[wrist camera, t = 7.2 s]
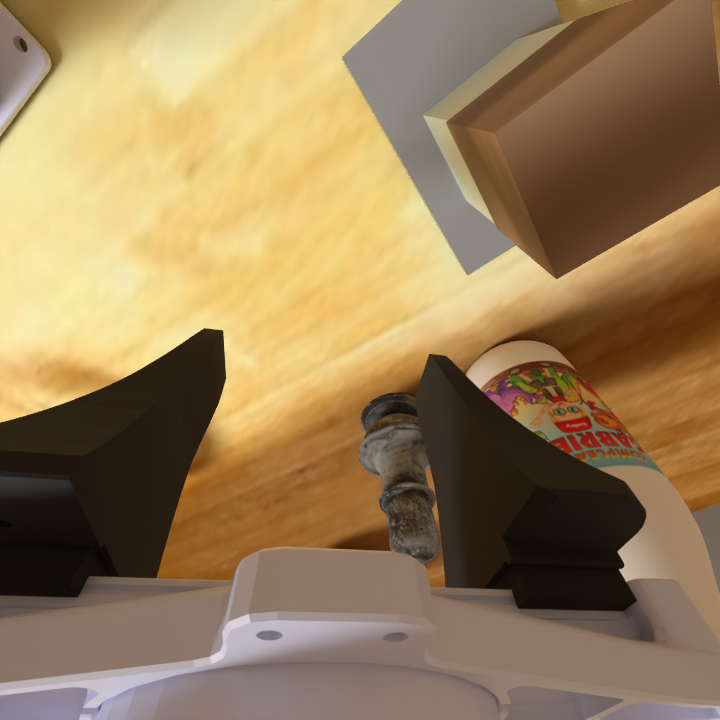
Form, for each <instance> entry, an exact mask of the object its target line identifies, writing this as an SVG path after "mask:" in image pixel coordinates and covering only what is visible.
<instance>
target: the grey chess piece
mask: <svg viewBox="0 0 720 720" xmlns="http://www.w3.org/2000/svg"><path fill="white" fill-rule="evenodd" d="M361 425H362V427H363V429H364V431H365V432H366V434H365V437H364V440H363V442H362V444H361V446H360V449H359V460H360V462H361V464H362V466H363V467H364V468H365V469H366V470H367V471H368V472H369V473H371V474H373V475H375V476H377V477H380V478H381V479H382V487H383V494H382V495H381V496H380V499H379V505H380V508H381V509H382V511H384V512H385V513H386V514H387V524H388V533H389V542H390V549H391V551H392V552H397V553H402V554H407V555H411V556H412V557H413V558H415V559H416V560H417V561H419V562H420V563H421V564H423V565H425V564H427V563H429V562H430V561H431V560H433V559H434V558H435V557H436V555H437V553H438V551H439V538H438V534H437V529H436V525H435V520H434V515H433V511H432V507H433V506H434V504H435V502H436V496H435V494H434V492H433V491H432V490H431V488H429V487H428V482H427V478H426V473H425V472H426V471H427V470H428V469H430V465H429V461H428V457H427V453H426V450H425V446H424V442H423V438H422V434H421V430H420V427H419V422H418V416H417V408H416V398H415V397H413V396H411V395H408V394H401V393H393V394H386V395H383V396H380V397H378V398H376V399H374V400H372V401H371V402H370V403H369V404H368V405H367V406H366V407H365V409H364V410H363V412H362V416H361Z"/></svg>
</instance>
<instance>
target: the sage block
mask: <svg viewBox="0 0 720 720" xmlns="http://www.w3.org/2000/svg"><path fill="white" fill-rule="evenodd" d="M578 19H580V18H578ZM575 20H577V19H575ZM575 20H572V21H569V22H566V23H563V24H560V25H557V26H554V27H551V28H549V29H546V30H543V31H540V32H537V33H534V34H531V35H528V36H525V37H522V38H520V39H517V40H515V41H514V42H513V43H511V44H510V45H509V46H508V47H507V48H505V49H504V50H503V51H502V52H500V53H499V54H498V55H497V56H495V57H494V58H493V59H492V60H490V61H489V62H488V63H487V64H485V65H484V66H483V67H482V68H481V69H479V70H478V71H477V72H476V73H474V74H473V75H472V76H471V77H469V78H468V79H467V80H466V81H464V82H463V83H462V84H461V85H460V86H458V87H457V88H456V89H455V90H453V91H452V92H451V93H450V94H448V95H447V96H446V97H445V98H443V99H442V100H441V101H440V102H438V103H437V104H436V105H435V106H434V107H432V108H431V109H430V110H429V111H427V112H426V113H425V114H424V115H423V117H424V119H425V121H426V123H427V125H428V127H429V129H430V131H431V133H432V135H433V137H434V138H435V140H436V142H437V144H438V146H439V148H440V150H441V152H442V154H443V156H444V158H445V160H446V162H447V164H448V166H449V168H450V170H451V172H452V174H453V176H454V178H455V180H456V182H457V184H458V186H459V188H460V189H461V191H462V193H463V195H464V197H465V199H466V201H467V202H468V203H470V204H471V205H472V206H473V207H475V208H476V209H477V210H478V211H479V212H481V213H482V214H483V215H484V216H486V217H487V218H488V219H489V220H490V221H492V222H493V223H494V221H493V219H492V217H491V215H490V213H489V211H488V209H487V207H486V204H485V202H484V200H483V198H482V196H481V194H480V192H479V190H478V188H477V186H476V184H475V182H474V180H473V178H472V176H471V174H470V172H469V170H468V167H467V165H466V163H465V161H464V159H463V157H462V155H461V153H460V151H459V149H458V147H457V145H456V143H455V141H454V139H453V137H452V135H451V133H450V130H449V128H448V126H447V124H446V122H447V121H448V120H449V119H450V118H452V117H453V116H454V115H456V114H457V113H458V112H459V111H461V110H462V109H463V108H464V107H466V106H467V105H468V104H470V103H471V102H472V101H473V100H475V99H476V98H477V97H478V96H480V95H481V94H482V93H483V92H485V91H486V90H487V89H489V88H490V87H491V86H492V85H494V84H495V83H496V82H497V81H499V80H500V79H501V78H503V77H504V76H505V75H506V74H508V73H509V72H510V71H511V70H513V69H514V68H515V67H517V66H518V65H519V64H520V63H522V62H523V61H524V60H525V59H527V58H528V57H529V56H530V55H532V54H533V53H534V52H536V51H537V50H538V49H539V48H541V47H542V46H543V45H544V44H546V43H547V42H548V41H550V40H551V39H552V38H553V37H555V36H556V35H557V34H558V33H560V32H561V31H562V30H563V29H565V28H566V27H567V26H569V25H570V24H571V23H572V22H574V21H575ZM494 224H495V223H494Z"/></svg>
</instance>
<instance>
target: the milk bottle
mask: <svg viewBox="0 0 720 720" xmlns="http://www.w3.org/2000/svg"><path fill="white" fill-rule="evenodd" d="M466 376H467V377H468V378H469V379H470V380H471V381H472V382H473V383H474V384H475V385H476V386H477V387H478V388H479V389H480V390H481V391H482V392H483V393H484V394H486V395H487V396H488V397H489V398H490V399H491V400H492V401H493V402H495V403H496V404H497V405H498V406H499V407H500V408H501V409H503V410H504V411H505V412H506V413H508V414H509V415H510V416H511V417H513V418H514V419H515V420H517V421H518V422H519V423H521V424H522V425H523V426H525V427H526V428H528V429H529V430H531V431H532V432H534V433H535V434H537V435H538V436H540V437H541V438H543V439H544V440H546V441H548V442H549V443H551V444H552V445H554V446H556V447H557V448H559V449H561V450H563V451H564V452H566V453H568V454H570V455H572V456H574V457H575V458H577V459H579V460H581V461H583V462H585V463H587V464H589V465H591V466H593V467H595V468H597V469H599V470H601V471H604V472H606V473H608V474H610V475H612V476H614V477H617V478H619V479H621V480H623V481H625V482H626V483H627V485H628V486H629V487H630V489H631V490H632V491H633V493H634V494H635V496H636V497H637V498H638V500H639V501H640V502H641V504H642V505H643V507H644V508H645V509H646V515H647V517H646V520H645V523H644V525H643V527H642V528H641V529H640V531H639V532H638V533H637V534H636V535H635V536H634V537H633V538H632V539H631V540H629V541H628V542H627V543H626V544H625V545H624V546H623V547H622V548H621V549H620V550H619V551H618V554H619V555H620V557H621V559H622V560H623V562H624V568H622V569H619V570H620V572H621V574H622V576H623V577H624V579H625V581H626V582H627V581H630V580H633V579H640V578H645V579H671V580H675V581H678V583H679V584H680V585H681V587H682V588H683V590H684V591H685V593H686V594H687V596H688V597H689V598H690V600H691V601H692V603H693V604H694V606H695V607H696V608H697V610H698V611H699V613H700V614H701V616H702V617H703V619H704V620H705V621H706V623H707V624H708V626H709V627H710V629H711V630H712V631H713V633H714V634H715V636H716V637H717V639H718V640H719V642H720V594H719V590H718V587H717V584H716V580H715V577H714V573H713V569H712V566H711V562H710V558H709V555H708V552H707V548H706V545H705V542H704V539H703V537H702V535H701V532H700V530H699V527H698V526H697V524H696V522H695V520H694V518H693V516H692V514H691V512H690V510H689V509H688V507H687V506H686V504H685V502H684V501H683V499H682V498H681V496H680V495H679V493H678V492H677V490H676V489H675V488H674V487H673V485H672V484H671V483H670V482H669V480H668V479H667V478H666V476H665V475H664V474H663V473H662V471H661V470H660V469H659V468H658V466H657V465H656V464H655V463H654V461H653V460H652V459H651V458H650V456H649V455H648V454H647V453H646V452H645V450H644V449H643V448H642V447H641V446H640V444H639V443H638V442H637V441H636V440H635V439H634V437H633V436H632V435H631V434H630V433H629V431H628V430H627V429H626V428H625V427H624V426H623V424H622V423H621V422H620V421H619V420H618V418H617V417H616V416H615V415H614V414H613V412H612V411H611V410H610V409H609V408H608V407H607V405H606V404H605V403H604V402H603V401H602V400H601V399H600V397H599V396H598V395H597V394H596V393H595V392H594V390H593V389H592V388H591V387H590V386H589V385H588V383H587V382H586V381H585V380H584V379H583V378H582V376H581V375H580V374H579V373H578V372H577V371H576V370H575V368H574V367H573V366H572V365H571V364H570V363H569V361H568V360H567V359H566V358H565V357H564V356H563V355H562V354H561V353H560V352H559V351H558V350H557V349H555V348H554V347H552V346H550V345H548V344H545V343H542V342H537V341H532V340H519V341H512V342H508V343H505V344H501V345H499V346H497V347H495V348H493V349H490V350H489V351H487V352H486V353H484V354H483V355H481V356H480V357H479V358H478V359H477V360H476V361H475V362H474V363H473V364H472V365H471V367H470V368H469V369H468V371H467V373H466Z"/></svg>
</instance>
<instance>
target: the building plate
mask: <svg viewBox="0 0 720 720" xmlns="http://www.w3.org/2000/svg"><path fill="white" fill-rule="evenodd" d="M560 24H562V21H561V17H560V13H559V10H558V6H557V3H556V0H402V1H401V2H400V3H399V4H398V5H397V6H396V7H395V8H394V9H393V10H392V11H391V12H390V13H389V14H387V15H386V16H385V17H384V18H383V19H382V20H381V21H380V22H379V23H378V24H377V25H376V26H375V27H374V28H373V29H371V30H370V31H369V32H368V33H367V34H366V35H365V36H364V37H363V38H362V39H361V40H360V41H359V42H358V43H357V44H355V45H354V46H353V47H352V48H351V49H350V50H349V51H348V52H347V53H346V54H345V55H344V56H343V57H342V60H343V62H344V64H345V65H346V67H347V69H348V71H349V72H350V74H351V76H352V77H353V79H354V81H355V83H356V84H357V86H358V88H359V90H360V91H361V93H362V95H363V97H364V98H365V100H366V102H367V104H368V105H369V107H370V109H371V110H372V112H373V114H374V116H375V117H376V119H377V121H378V123H379V124H380V126H381V128H382V130H383V131H384V133H385V135H386V137H387V138H388V140H389V142H390V143H391V145H392V147H393V149H394V150H395V152H396V154H397V156H398V157H399V159H400V161H401V163H402V164H403V166H404V168H405V170H406V171H407V173H408V175H409V176H410V178H411V180H412V182H413V183H414V185H415V187H416V189H417V190H418V192H419V194H420V196H421V197H422V199H423V201H424V202H425V204H426V206H427V208H428V209H429V211H430V213H431V215H432V216H433V218H434V220H435V222H436V223H437V225H438V227H439V229H440V230H441V232H442V234H443V235H444V237H445V239H446V241H447V242H448V244H449V246H450V248H451V249H452V251H453V253H454V255H455V256H456V258H457V260H458V262H459V263H460V265H461V267H462V268H463V270H464V271H465V273H466V274H467V275H469V274H471V273H472V272H474V271H475V270H477V269H479V268H480V267H482V266H483V265H485V264H487V263H488V262H490V261H491V260H493V259H495V258H496V257H498V256H500V255H501V254H503V253H504V252H506V251H508V250H509V249H511V248H512V247H514V246H516V245H515V244H514V243H513V242H512V241H511V240H509V239H508V238H507V237H506V236H505V235H503V234H502V233H501V232H500V231H499V230H498V229H497V227H496V225H495V224H494V223H493V222H492V221H490V220H489V219H488V218H487V217H486V216H484V215H483V214H482V213H481V212H479V211H478V210H477V209H476V208H475V207H473V206H472V205H471V204H470V203H468V202H467V201H466V199H465V197H464V195H463V193H462V191H461V189H460V188H459V186H458V184H457V182H456V180H455V178H454V176H453V174H452V172H451V170H450V168H449V166H448V164H447V162H446V160H445V158H444V156H443V154H442V152H441V150H440V148H439V146H438V144H437V142H436V140H435V138H434V137H433V135H432V133H431V131H430V129H429V127H428V125H427V123H426V121H425V119H424V117H423V115H424V114H425V113H426V112H427V111H429V110H430V109H431V108H432V107H434V106H435V105H436V104H437V103H438V102H440V101H441V100H442V99H443V98H445V97H446V96H447V95H448V94H450V93H451V92H452V91H453V90H455V89H456V88H457V87H458V86H460V85H461V84H462V83H463V82H464V81H466V80H467V79H468V78H469V77H471V76H472V75H473V74H474V73H476V72H477V71H478V70H479V69H481V68H482V67H483V66H484V65H485V64H487V63H488V62H489V61H490V60H492V59H493V58H494V57H495V56H497V55H498V54H499V53H500V52H502V51H503V50H504V49H505V48H507V47H508V46H509V45H510V44H511V43H513V42H514V41H515V40H517V39H520V38H522V37H525V36H528V35H531V34H534V33H537V32H540V31H543V30H546V29H549V28H551V27H554V26H557V25H560Z"/></svg>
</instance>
